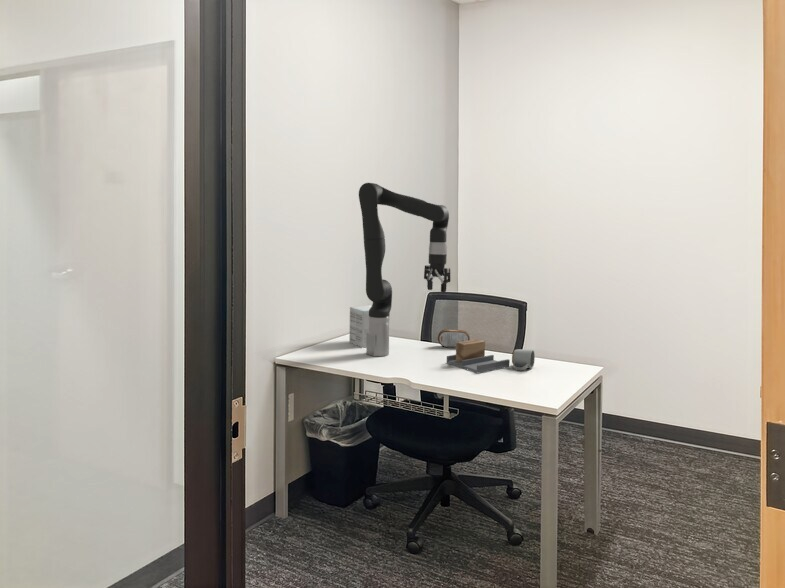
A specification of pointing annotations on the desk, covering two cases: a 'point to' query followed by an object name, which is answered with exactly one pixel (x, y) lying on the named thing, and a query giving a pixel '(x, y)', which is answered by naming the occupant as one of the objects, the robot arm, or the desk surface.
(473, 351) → the wooden toy brick
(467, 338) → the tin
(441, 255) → the robot arm
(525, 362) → the ceramic mug
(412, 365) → the desk surface
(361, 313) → the supplement box
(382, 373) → the desk surface
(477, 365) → the rack
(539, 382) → the desk surface
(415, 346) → the desk surface
